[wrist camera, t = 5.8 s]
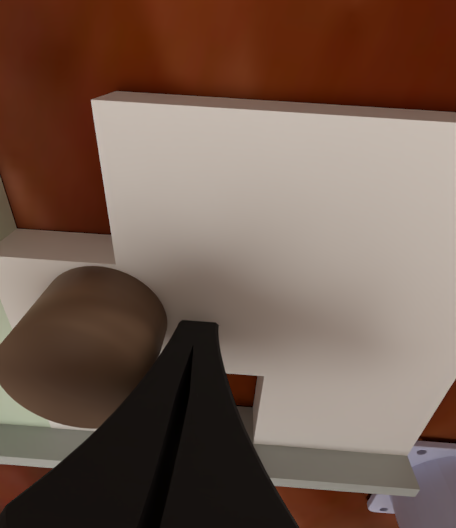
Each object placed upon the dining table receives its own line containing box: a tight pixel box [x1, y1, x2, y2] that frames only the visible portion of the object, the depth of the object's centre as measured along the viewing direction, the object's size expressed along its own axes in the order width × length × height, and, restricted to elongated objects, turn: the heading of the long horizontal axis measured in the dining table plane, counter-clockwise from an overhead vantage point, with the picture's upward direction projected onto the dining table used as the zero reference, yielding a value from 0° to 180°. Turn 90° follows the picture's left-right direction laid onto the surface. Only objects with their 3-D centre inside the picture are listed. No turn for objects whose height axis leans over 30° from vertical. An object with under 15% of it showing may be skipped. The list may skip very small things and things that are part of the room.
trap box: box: [0, 91, 456, 497], centre depth 13 cm, size 22×16×4 cm
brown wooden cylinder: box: [0, 266, 167, 429], centre depth 11 cm, size 4×4×3 cm
